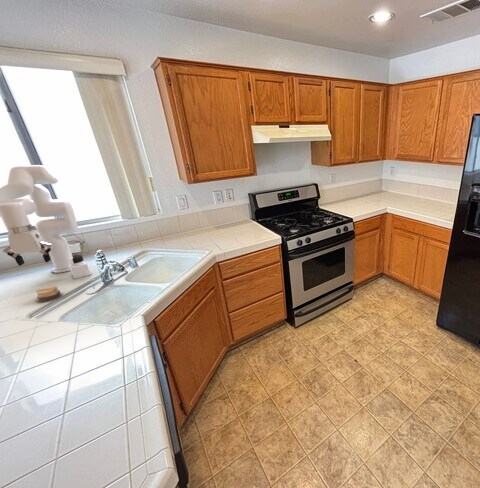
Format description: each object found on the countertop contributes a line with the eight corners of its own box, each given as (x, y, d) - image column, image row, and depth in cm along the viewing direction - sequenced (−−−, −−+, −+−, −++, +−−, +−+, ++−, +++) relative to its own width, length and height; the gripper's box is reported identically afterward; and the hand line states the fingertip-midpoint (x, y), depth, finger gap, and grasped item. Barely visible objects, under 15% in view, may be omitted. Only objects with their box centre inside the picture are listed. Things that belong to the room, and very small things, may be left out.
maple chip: (43, 291, 133) (41, 287, 133) (61, 289, 136) (59, 284, 135) (34, 299, 127) (32, 294, 126) (54, 296, 130) (52, 291, 129)
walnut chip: (44, 295, 134) (42, 291, 134) (64, 291, 137) (63, 288, 137) (34, 303, 127) (32, 300, 126) (56, 299, 130) (54, 296, 129)
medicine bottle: (88, 271, 160) (81, 253, 156) (90, 274, 156) (84, 256, 152) (72, 275, 155) (65, 256, 151) (75, 279, 151) (67, 259, 146)
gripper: (48, 225, 127) (61, 257, 133) (0, 229, 121) (16, 262, 127) (40, 229, 120) (54, 263, 126) (-12, 234, 114) (5, 269, 120)
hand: (35, 262), depth 127 cm, fingers open, 9 cm apart
